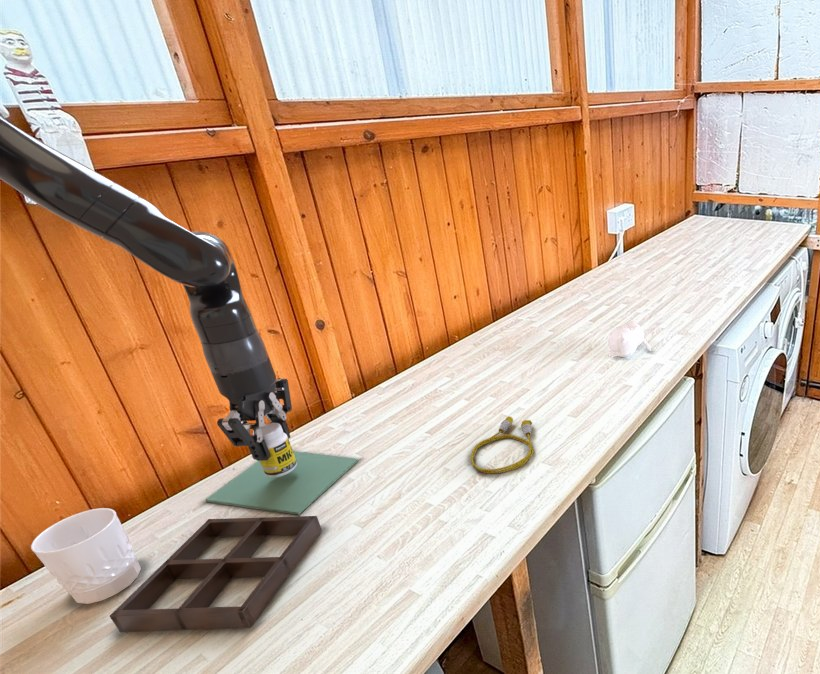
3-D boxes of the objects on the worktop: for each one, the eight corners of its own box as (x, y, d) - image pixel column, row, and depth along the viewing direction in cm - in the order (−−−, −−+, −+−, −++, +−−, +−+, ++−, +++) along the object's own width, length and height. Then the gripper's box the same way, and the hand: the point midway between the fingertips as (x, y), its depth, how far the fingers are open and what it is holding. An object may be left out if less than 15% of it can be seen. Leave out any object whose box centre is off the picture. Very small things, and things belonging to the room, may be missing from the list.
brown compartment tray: (119, 632, 65) (108, 615, 64) (215, 533, 80) (208, 518, 79) (250, 628, 66) (242, 611, 64) (322, 530, 81) (316, 515, 79)
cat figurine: (632, 310, 137) (611, 325, 127) (663, 335, 136) (644, 352, 126) (617, 333, 142) (596, 349, 132) (647, 357, 141) (627, 375, 131)
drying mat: (206, 501, 87) (205, 499, 87) (275, 451, 99) (274, 448, 99) (298, 515, 84) (297, 512, 83) (358, 460, 96) (357, 458, 96)
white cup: (144, 551, 77) (115, 499, 73) (148, 583, 72) (116, 528, 68) (69, 583, 72) (33, 529, 68) (67, 619, 67) (28, 563, 63)
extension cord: (558, 436, 102) (557, 427, 101) (502, 483, 90) (500, 474, 89) (512, 420, 108) (510, 411, 107) (452, 462, 95) (450, 453, 94)
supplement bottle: (286, 478, 88) (270, 437, 85) (258, 478, 88) (242, 437, 85) (303, 460, 93) (289, 420, 89) (277, 460, 93) (262, 421, 89)
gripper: (246, 342, 88) (278, 426, 95) (178, 384, 75) (221, 477, 82) (291, 341, 88) (319, 424, 95) (231, 382, 75) (269, 476, 82)
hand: (273, 448), depth 89 cm, fingers closed on supplement bottle, 4 cm apart
